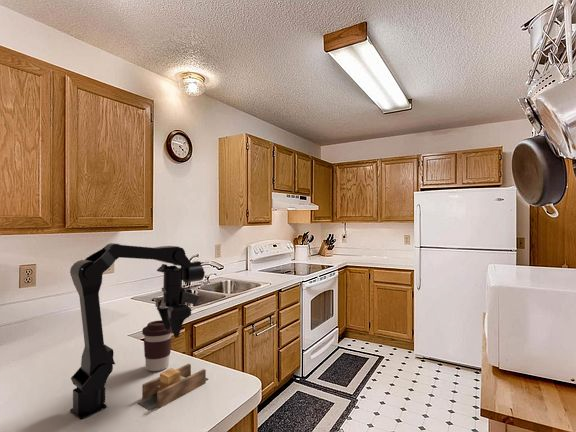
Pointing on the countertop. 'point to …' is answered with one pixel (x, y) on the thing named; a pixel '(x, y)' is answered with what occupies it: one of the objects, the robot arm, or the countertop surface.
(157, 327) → the coffee cup
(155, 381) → the trough
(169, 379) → the block
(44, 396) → the countertop surface
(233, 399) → the countertop surface
